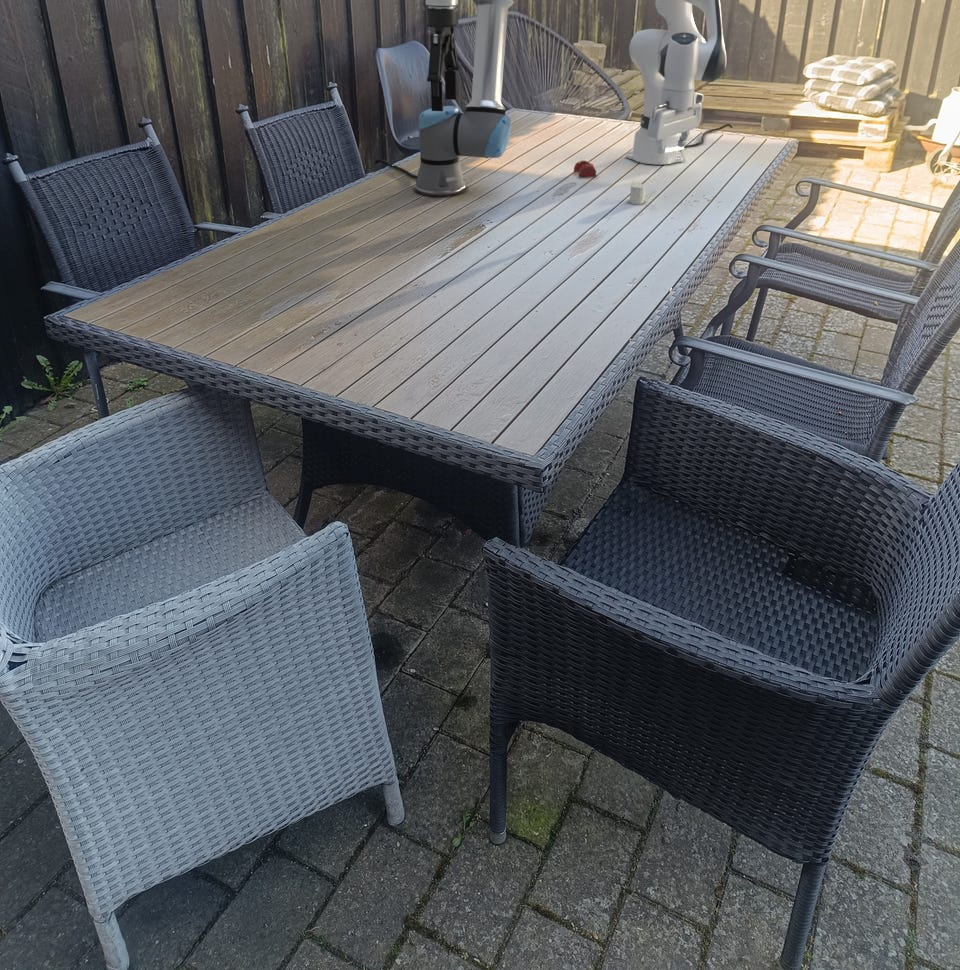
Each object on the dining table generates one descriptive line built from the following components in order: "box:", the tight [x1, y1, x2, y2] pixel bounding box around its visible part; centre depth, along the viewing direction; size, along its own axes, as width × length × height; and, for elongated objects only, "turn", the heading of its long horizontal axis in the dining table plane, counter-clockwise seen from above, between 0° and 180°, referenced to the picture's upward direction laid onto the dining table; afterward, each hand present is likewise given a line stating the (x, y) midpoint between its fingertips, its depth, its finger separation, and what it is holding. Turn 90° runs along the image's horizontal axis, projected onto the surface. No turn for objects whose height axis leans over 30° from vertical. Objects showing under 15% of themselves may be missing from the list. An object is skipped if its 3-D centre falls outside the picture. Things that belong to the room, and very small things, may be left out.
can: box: [628, 183, 646, 205], centre depth 247 cm, size 4×4×5 cm
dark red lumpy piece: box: [573, 160, 597, 178], centre depth 270 cm, size 6×4×8 cm
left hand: (444, 105), depth 208 cm, fingers open, 13 cm apart
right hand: (671, 150), depth 245 cm, fingers open, 8 cm apart
